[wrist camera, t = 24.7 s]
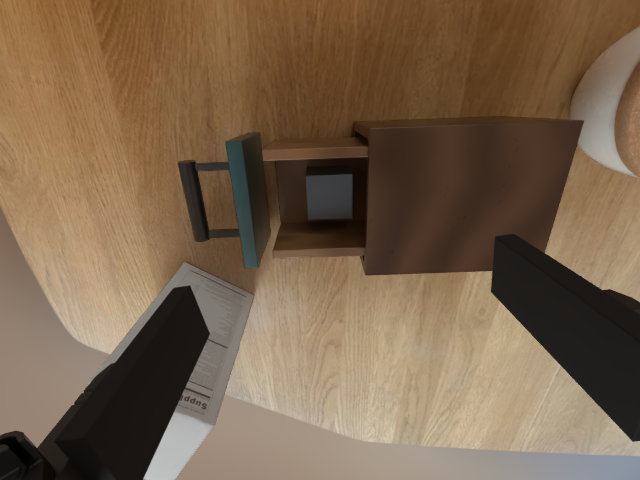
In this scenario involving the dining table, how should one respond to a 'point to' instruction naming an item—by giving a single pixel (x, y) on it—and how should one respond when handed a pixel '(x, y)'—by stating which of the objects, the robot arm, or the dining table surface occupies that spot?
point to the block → (329, 192)
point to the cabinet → (460, 189)
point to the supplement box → (197, 366)
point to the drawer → (283, 197)
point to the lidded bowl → (612, 106)
